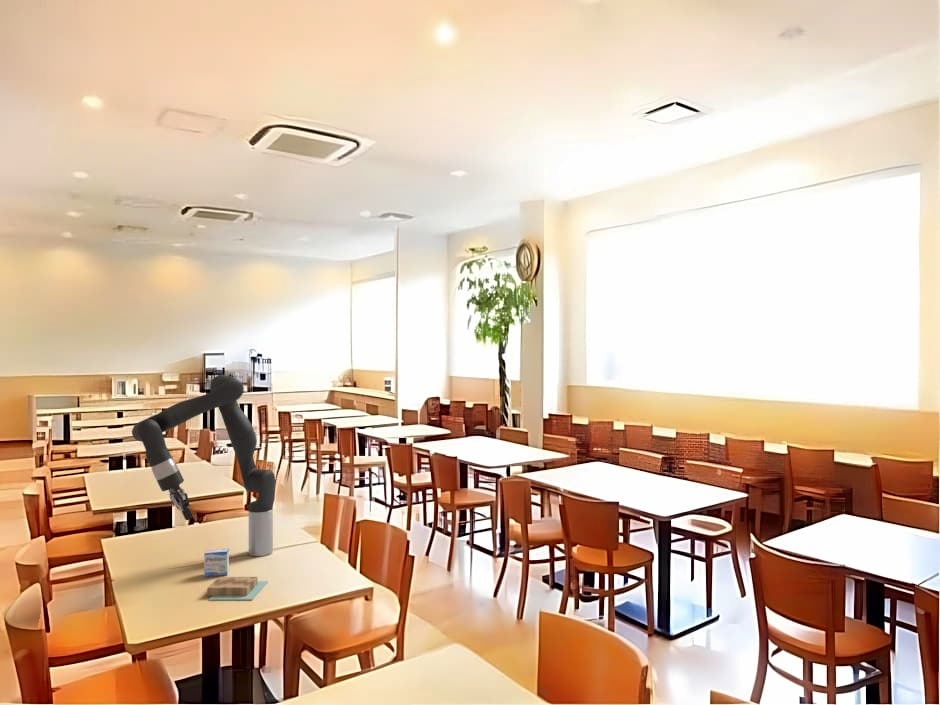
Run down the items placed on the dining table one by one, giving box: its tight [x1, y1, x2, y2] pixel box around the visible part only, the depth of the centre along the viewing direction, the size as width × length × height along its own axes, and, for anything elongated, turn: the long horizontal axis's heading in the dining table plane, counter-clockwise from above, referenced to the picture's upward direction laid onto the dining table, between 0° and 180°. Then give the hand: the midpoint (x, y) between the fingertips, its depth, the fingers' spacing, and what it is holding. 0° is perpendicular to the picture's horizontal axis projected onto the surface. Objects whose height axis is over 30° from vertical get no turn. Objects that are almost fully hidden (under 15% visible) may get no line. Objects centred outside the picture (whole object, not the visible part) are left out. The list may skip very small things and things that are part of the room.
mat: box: [208, 580, 269, 602], centre depth 211 cm, size 16×14×1 cm
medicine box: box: [203, 548, 230, 578], centre depth 227 cm, size 8×4×9 cm, turn 105°
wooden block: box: [206, 576, 258, 597], centre depth 211 cm, size 10×3×13 cm
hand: (189, 519), depth 216 cm, fingers closed
